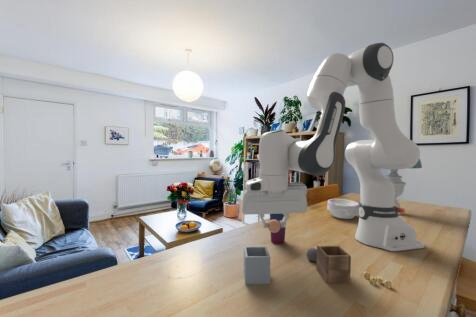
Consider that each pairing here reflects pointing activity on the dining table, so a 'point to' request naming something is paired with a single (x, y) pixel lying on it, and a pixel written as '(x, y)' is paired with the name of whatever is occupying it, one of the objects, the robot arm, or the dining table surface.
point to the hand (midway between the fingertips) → (274, 227)
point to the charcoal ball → (312, 254)
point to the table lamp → (399, 182)
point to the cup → (280, 235)
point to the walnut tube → (333, 264)
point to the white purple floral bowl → (343, 208)
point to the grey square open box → (256, 265)
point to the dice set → (379, 280)
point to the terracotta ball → (274, 226)
